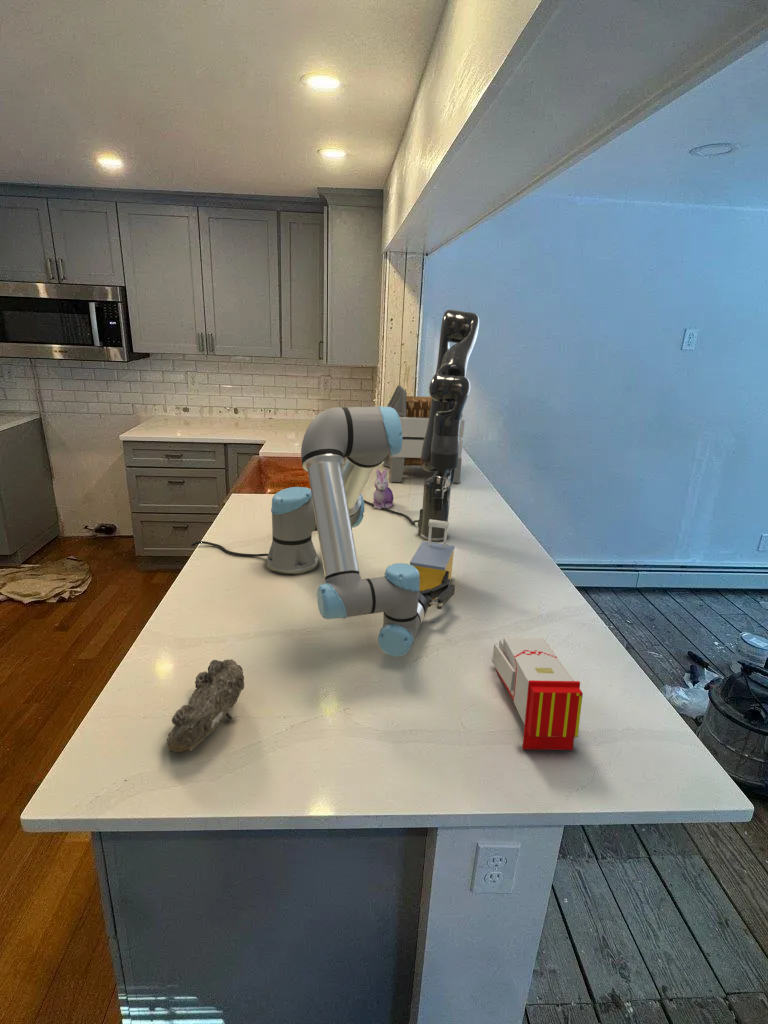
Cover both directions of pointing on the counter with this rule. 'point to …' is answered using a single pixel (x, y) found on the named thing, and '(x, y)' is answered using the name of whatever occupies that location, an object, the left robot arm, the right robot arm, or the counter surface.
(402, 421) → the grey slatted crate
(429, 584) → the chest
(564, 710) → the toy
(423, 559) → the lid
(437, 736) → the counter surface
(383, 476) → the figurine
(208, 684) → the fossil
